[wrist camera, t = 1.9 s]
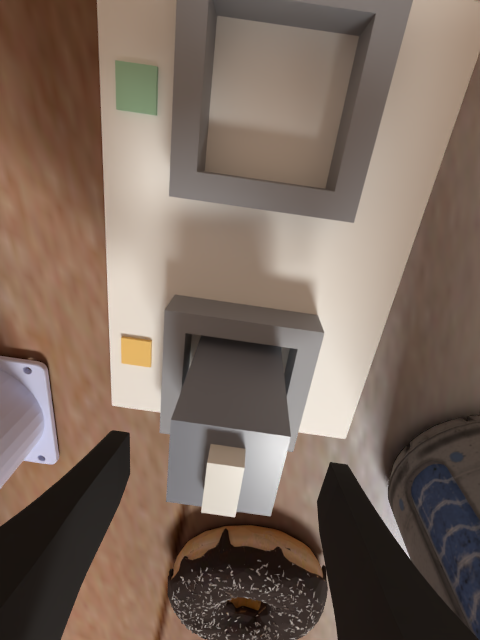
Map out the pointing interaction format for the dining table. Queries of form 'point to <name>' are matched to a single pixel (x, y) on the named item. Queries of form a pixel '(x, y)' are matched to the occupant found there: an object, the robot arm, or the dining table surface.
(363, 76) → the panel
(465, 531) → the beverage bottle
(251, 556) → the donut
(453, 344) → the dining table surface
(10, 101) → the dining table surface
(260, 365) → the plug
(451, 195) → the dining table surface
